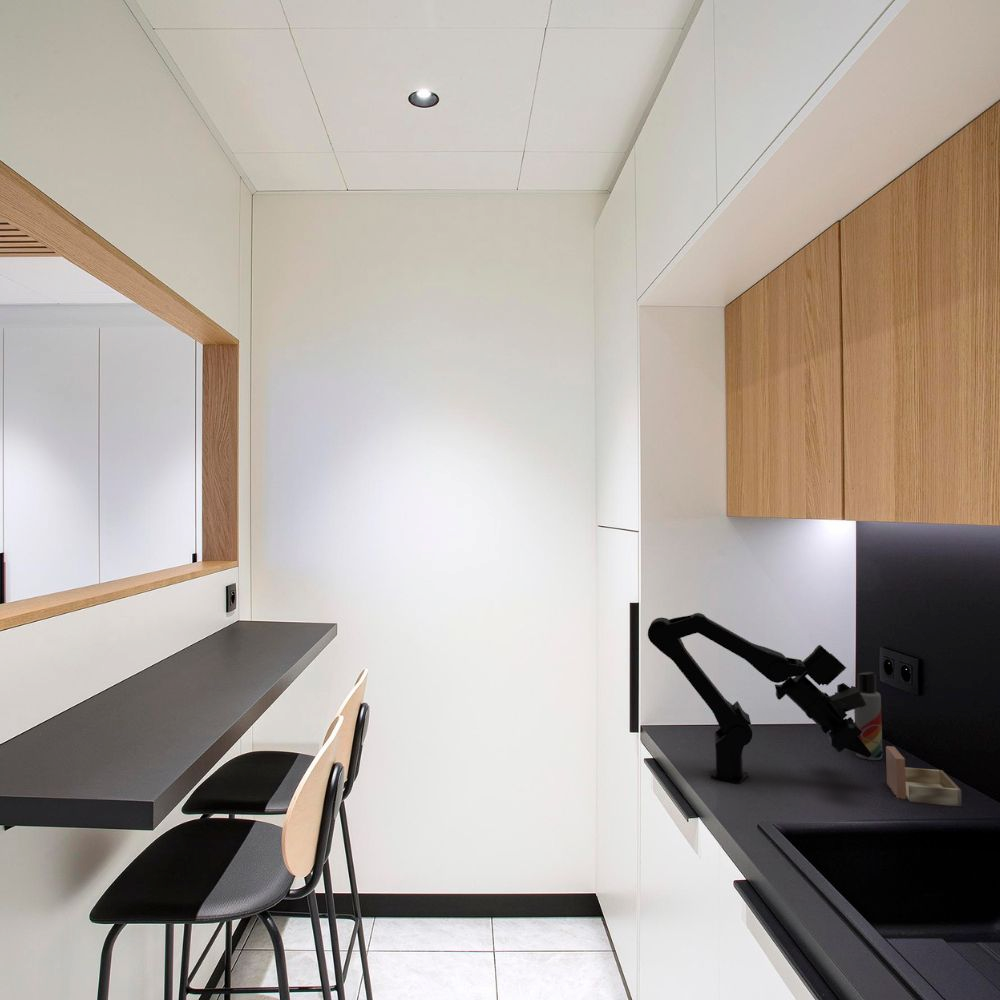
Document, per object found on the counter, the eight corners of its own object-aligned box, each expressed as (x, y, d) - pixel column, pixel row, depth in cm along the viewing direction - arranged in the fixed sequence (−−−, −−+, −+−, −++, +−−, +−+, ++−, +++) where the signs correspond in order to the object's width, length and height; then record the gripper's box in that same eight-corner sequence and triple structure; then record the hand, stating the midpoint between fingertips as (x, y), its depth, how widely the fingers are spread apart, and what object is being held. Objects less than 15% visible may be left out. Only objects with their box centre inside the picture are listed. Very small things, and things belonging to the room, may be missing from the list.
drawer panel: (897, 798, 140) (895, 758, 141) (887, 783, 148) (885, 746, 148) (906, 799, 140) (904, 759, 140) (895, 784, 148) (894, 746, 148)
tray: (910, 802, 138) (909, 785, 138) (894, 781, 149) (894, 766, 149) (961, 806, 136) (961, 790, 136) (942, 785, 147) (941, 770, 147)
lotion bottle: (882, 762, 161) (879, 675, 161) (854, 758, 164) (852, 673, 164) (883, 755, 166) (880, 670, 166) (856, 751, 169) (854, 668, 169)
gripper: (848, 684, 139) (912, 744, 135) (831, 665, 157) (887, 717, 153) (806, 721, 141) (869, 781, 137) (794, 698, 158) (849, 750, 155)
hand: (869, 755), depth 146 cm, fingers closed
